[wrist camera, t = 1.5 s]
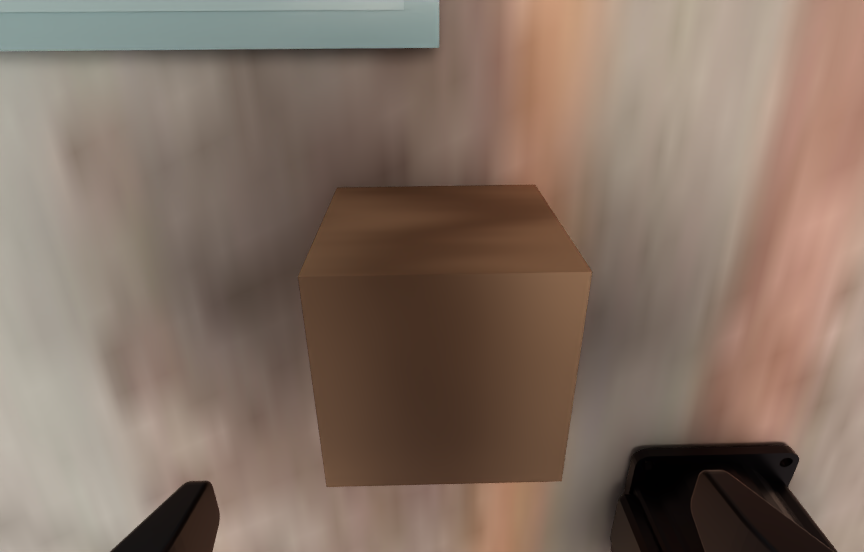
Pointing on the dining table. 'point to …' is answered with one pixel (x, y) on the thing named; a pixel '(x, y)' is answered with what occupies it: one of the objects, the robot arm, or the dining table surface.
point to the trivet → (216, 24)
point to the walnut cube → (443, 335)
